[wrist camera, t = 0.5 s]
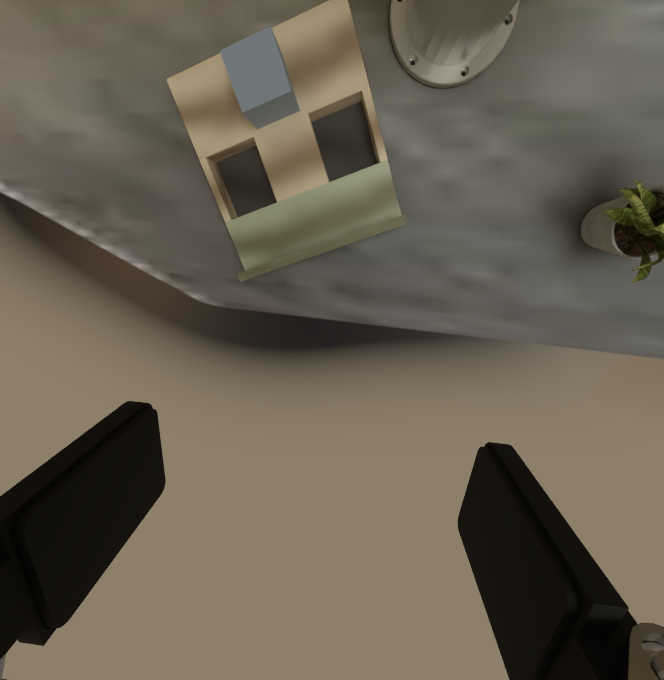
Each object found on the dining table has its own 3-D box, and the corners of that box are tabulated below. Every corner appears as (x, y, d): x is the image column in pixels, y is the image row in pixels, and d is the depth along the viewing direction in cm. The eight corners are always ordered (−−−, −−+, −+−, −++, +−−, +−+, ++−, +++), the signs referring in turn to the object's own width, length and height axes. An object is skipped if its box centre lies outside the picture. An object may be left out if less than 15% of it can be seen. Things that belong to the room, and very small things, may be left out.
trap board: (180, 91, 36) (148, 65, 30) (346, 12, 33) (344, -34, 27) (255, 275, 42) (240, 281, 37) (400, 224, 39) (407, 223, 33)
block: (239, 76, 33) (219, 50, 28) (283, 56, 32) (270, 25, 27) (257, 129, 34) (242, 112, 29) (300, 110, 33) (291, 90, 29)
